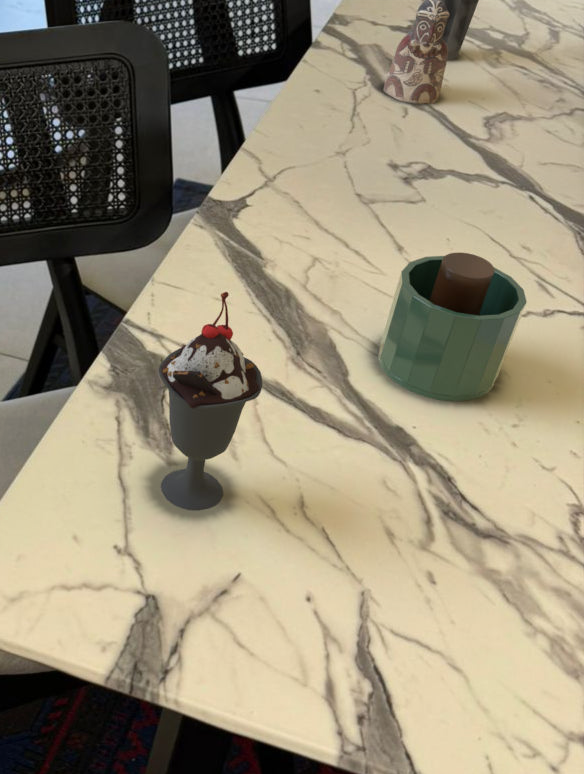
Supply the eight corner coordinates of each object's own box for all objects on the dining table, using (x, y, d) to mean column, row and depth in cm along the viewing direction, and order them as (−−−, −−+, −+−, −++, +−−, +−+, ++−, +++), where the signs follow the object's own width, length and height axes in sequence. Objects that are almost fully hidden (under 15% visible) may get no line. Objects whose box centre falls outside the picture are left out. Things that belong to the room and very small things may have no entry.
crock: (507, 364, 87) (539, 281, 82) (473, 419, 81) (506, 333, 76) (400, 325, 91) (425, 243, 85) (360, 375, 84) (384, 290, 79)
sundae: (212, 453, 75) (244, 273, 65) (254, 513, 71) (295, 329, 61) (129, 470, 73) (149, 287, 63) (167, 533, 69) (194, 346, 59)
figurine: (379, 99, 132) (403, 1, 124) (386, 81, 137) (409, -14, 130) (435, 109, 131) (463, 11, 123) (439, 91, 136) (467, -5, 128)
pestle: (466, 358, 86) (501, 263, 80) (451, 380, 83) (486, 283, 77) (421, 341, 87) (451, 247, 81) (405, 363, 85) (435, 266, 79)
